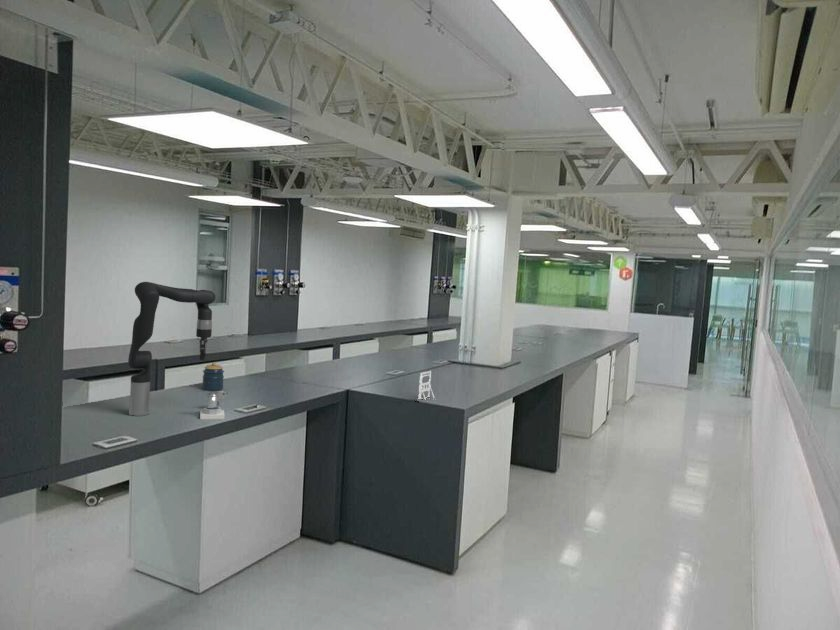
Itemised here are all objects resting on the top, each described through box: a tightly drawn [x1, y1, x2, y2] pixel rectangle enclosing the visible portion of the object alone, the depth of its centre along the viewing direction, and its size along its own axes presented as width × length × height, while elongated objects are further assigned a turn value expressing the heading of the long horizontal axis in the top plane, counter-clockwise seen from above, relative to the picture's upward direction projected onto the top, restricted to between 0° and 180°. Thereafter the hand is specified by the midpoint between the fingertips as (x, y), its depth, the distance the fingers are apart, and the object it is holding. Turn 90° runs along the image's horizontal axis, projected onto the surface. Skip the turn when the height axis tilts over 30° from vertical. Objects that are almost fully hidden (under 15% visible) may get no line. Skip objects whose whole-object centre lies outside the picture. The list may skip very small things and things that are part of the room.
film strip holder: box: [417, 370, 435, 400], centre depth 397 cm, size 14×14×20 cm
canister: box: [201, 361, 225, 392], centre depth 391 cm, size 13×13×18 cm
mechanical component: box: [210, 390, 228, 407], centre depth 338 cm, size 3×10×10 cm, turn 134°
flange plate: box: [199, 406, 226, 420], centre depth 322 cm, size 12×12×4 cm
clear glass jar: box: [206, 392, 218, 409], centre depth 321 cm, size 5×5×10 cm
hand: (202, 358), depth 320 cm, fingers open, 8 cm apart
